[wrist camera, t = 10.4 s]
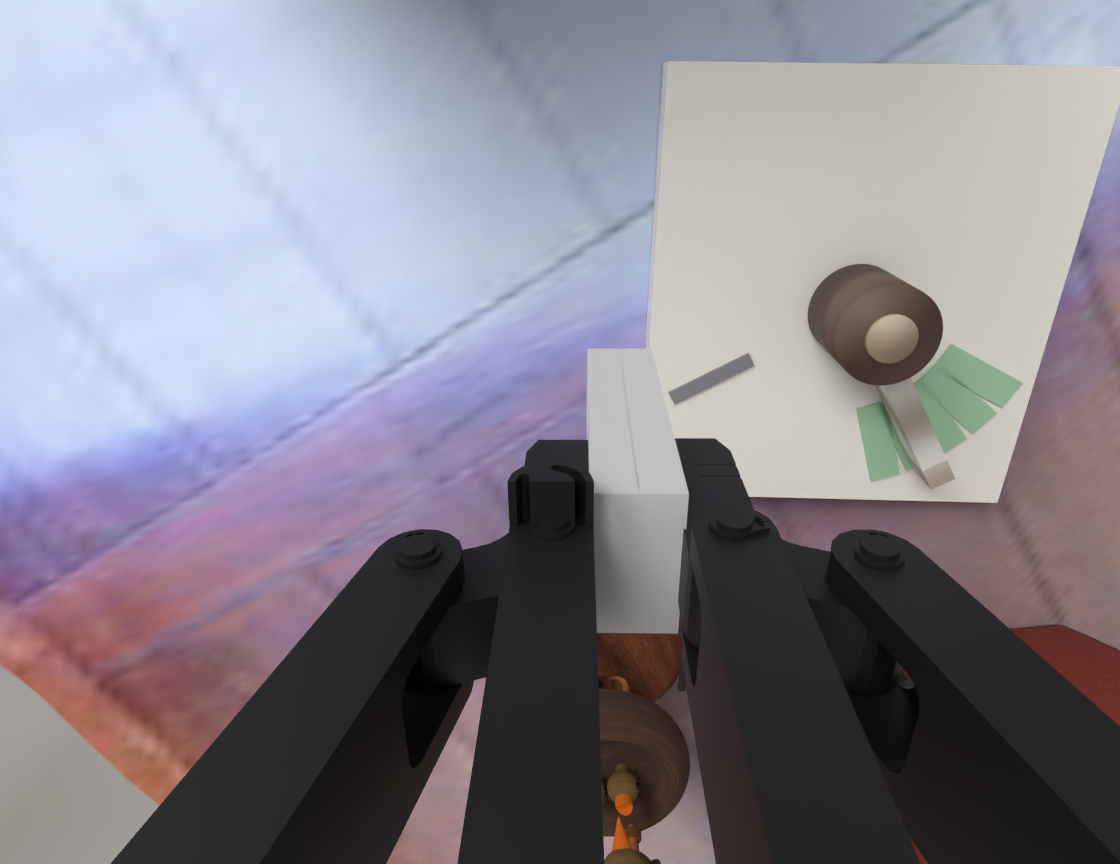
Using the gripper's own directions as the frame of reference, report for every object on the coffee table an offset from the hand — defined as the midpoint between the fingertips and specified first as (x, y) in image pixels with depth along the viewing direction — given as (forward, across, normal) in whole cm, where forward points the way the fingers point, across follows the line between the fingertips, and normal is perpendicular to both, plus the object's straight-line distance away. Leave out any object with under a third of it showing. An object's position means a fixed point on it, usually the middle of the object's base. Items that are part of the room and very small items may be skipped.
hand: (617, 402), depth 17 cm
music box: (+25, 0, -28) cm, 38 cm away
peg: (+23, +16, -8) cm, 29 cm away
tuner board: (+26, +14, -5) cm, 30 cm away
